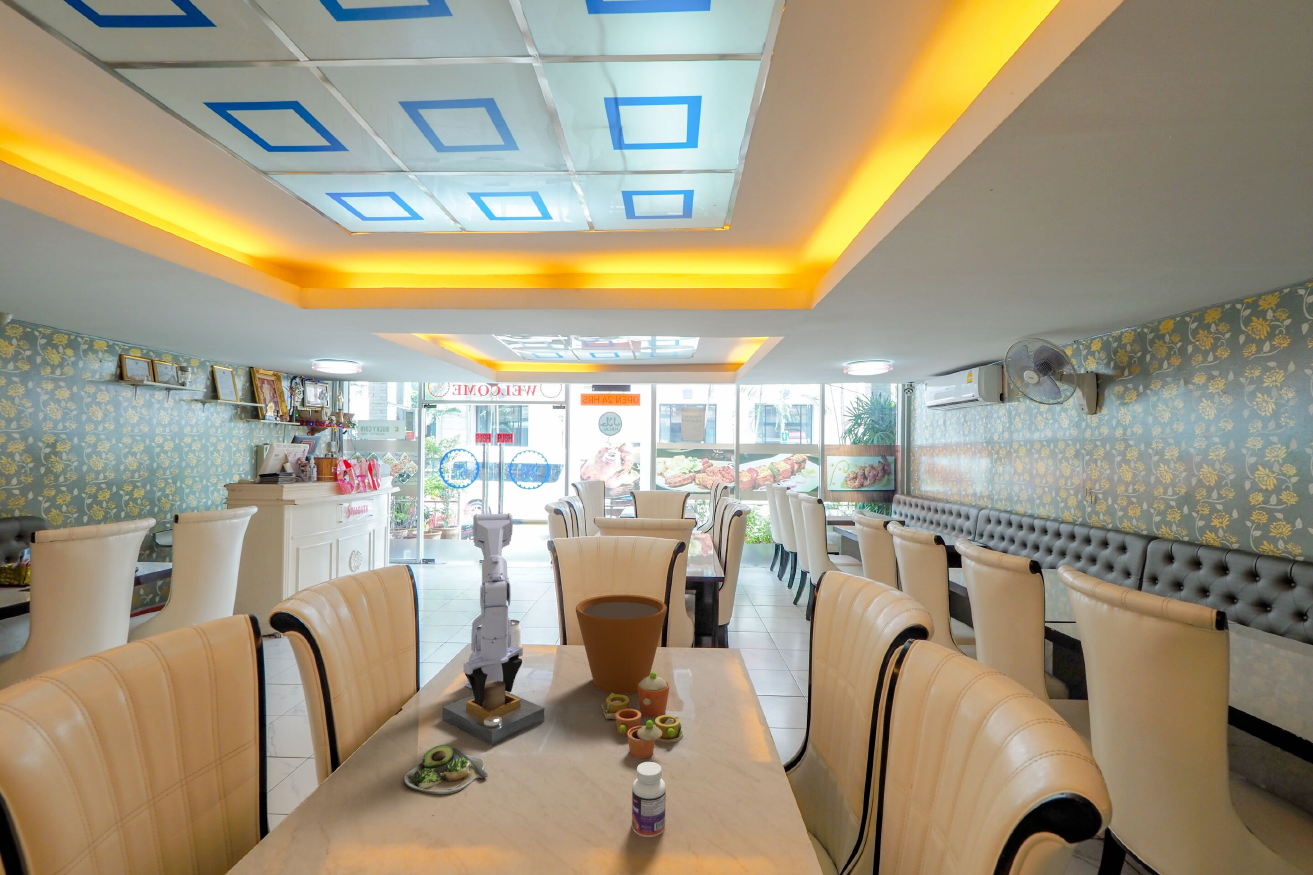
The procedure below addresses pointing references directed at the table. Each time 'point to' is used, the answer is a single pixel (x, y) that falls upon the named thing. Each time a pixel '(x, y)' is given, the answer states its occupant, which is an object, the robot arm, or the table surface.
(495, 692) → the walnut peg
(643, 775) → the pill bottle
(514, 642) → the can
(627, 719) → the toy tea set
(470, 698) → the gray peg socket base
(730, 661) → the table surface
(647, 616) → the flower pot
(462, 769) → the salad plate
